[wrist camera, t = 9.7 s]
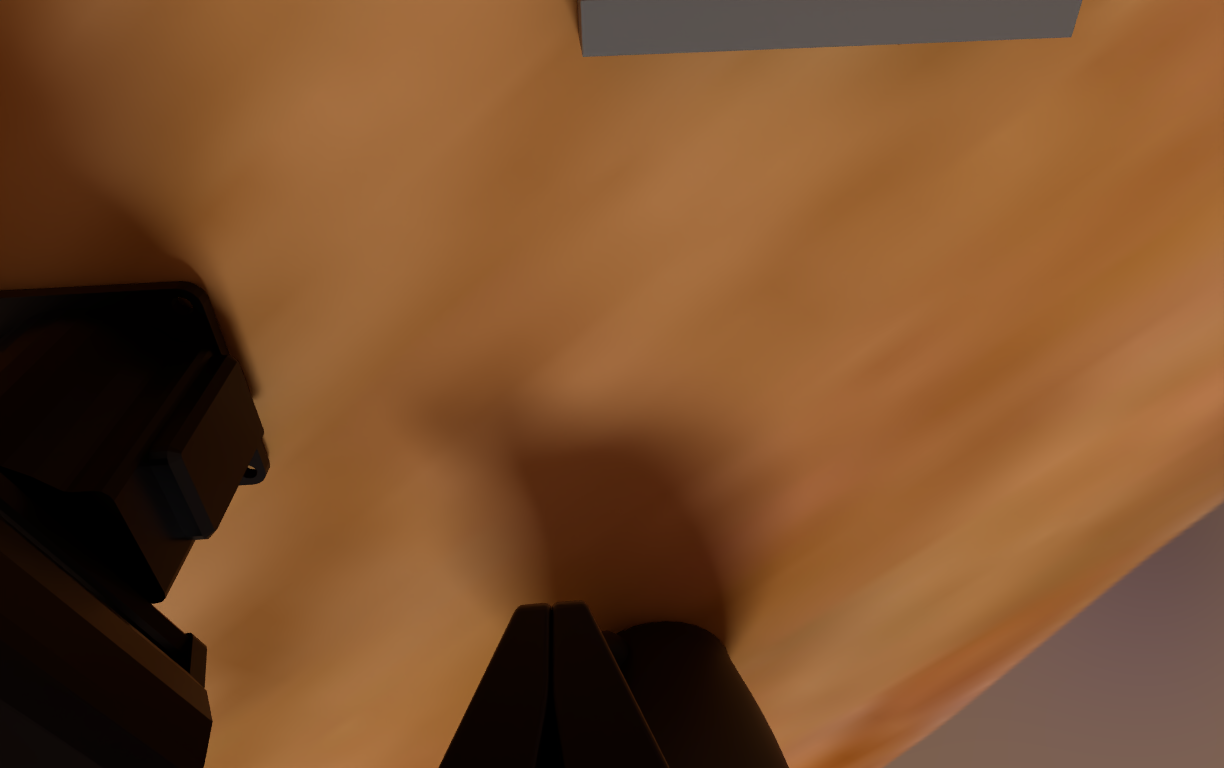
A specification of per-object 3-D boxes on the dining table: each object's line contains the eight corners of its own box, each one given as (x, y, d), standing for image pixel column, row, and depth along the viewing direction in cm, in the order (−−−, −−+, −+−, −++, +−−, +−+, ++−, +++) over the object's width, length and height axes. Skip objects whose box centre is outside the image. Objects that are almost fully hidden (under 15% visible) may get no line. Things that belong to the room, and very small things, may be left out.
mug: (636, 504, 25) (677, 799, 17) (795, 672, 31) (880, 947, 23) (444, 607, 27) (404, 910, 19) (628, 746, 33) (654, 1018, 25)
